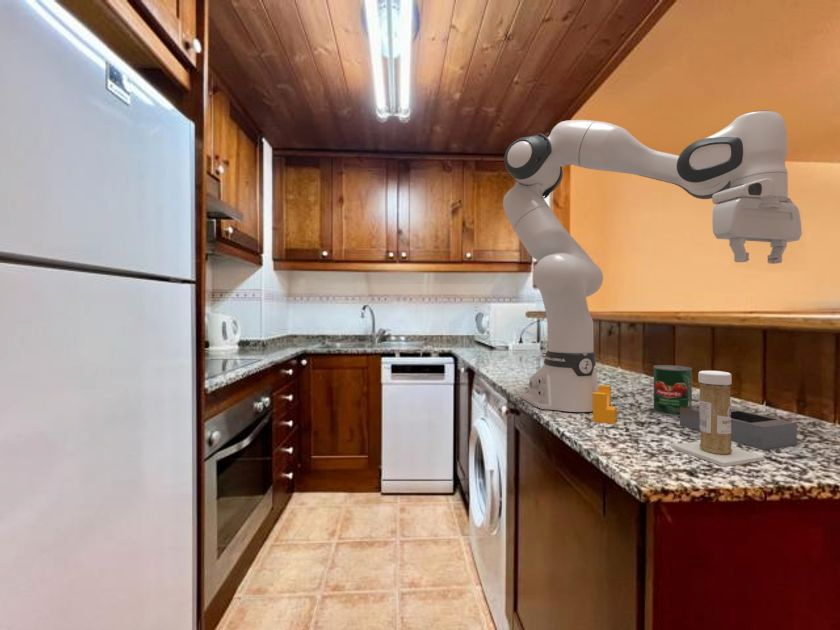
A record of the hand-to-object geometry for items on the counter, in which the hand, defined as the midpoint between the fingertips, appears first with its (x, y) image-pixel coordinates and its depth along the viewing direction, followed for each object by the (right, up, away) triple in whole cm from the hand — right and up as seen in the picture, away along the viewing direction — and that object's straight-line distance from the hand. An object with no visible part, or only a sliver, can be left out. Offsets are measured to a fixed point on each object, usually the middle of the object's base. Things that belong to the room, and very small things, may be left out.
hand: (758, 262), depth 81 cm
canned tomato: (-8, -34, +16) cm, 38 cm away
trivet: (-18, -34, -13) cm, 41 cm away
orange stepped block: (-25, -35, +12) cm, 44 cm away
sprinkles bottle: (-18, -34, -13) cm, 40 cm away
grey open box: (-7, -34, -2) cm, 35 cm away
